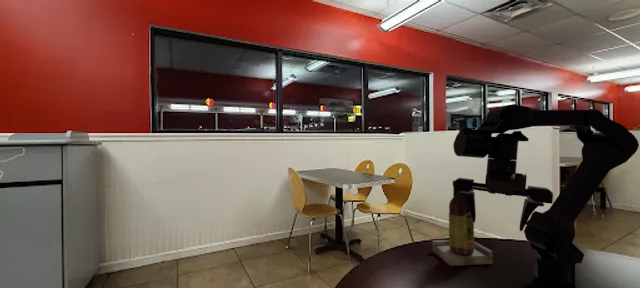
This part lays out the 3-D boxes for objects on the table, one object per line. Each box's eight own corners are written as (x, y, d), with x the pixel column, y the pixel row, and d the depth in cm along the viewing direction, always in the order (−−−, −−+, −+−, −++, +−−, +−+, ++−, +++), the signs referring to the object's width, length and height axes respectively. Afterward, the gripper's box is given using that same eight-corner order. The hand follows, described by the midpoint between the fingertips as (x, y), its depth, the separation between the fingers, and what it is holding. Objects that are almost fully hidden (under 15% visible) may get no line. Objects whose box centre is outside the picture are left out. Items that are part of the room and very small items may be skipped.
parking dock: (470, 249, 85) (470, 238, 85) (492, 263, 75) (492, 251, 75) (432, 251, 84) (432, 240, 84) (450, 265, 74) (450, 253, 74)
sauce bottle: (473, 257, 74) (472, 183, 74) (447, 253, 77) (446, 181, 77) (475, 249, 80) (473, 180, 80) (451, 245, 83) (450, 179, 83)
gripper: (453, 156, 63) (448, 224, 63) (561, 164, 53) (554, 246, 53) (458, 156, 73) (454, 215, 73) (550, 163, 63) (545, 232, 63)
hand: (496, 226), depth 65 cm, fingers open, 9 cm apart
